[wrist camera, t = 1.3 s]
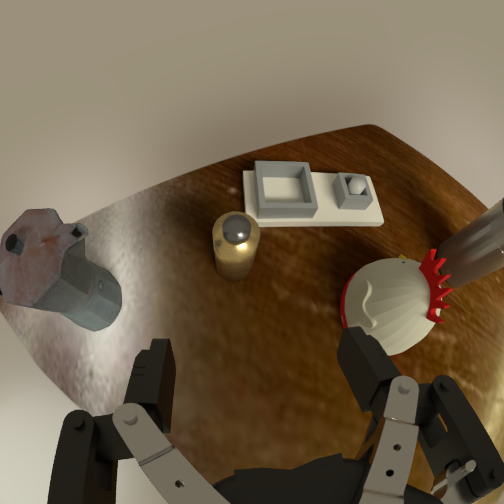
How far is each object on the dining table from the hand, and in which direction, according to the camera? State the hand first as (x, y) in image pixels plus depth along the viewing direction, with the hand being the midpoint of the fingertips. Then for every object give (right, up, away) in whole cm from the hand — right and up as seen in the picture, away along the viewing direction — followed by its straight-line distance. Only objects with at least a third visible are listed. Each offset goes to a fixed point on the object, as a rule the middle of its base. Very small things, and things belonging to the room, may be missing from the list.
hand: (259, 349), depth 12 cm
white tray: (+9, +12, +30) cm, 34 cm away
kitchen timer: (+19, -4, +25) cm, 31 cm away
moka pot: (-22, -3, +21) cm, 31 cm away
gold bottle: (-3, +3, +25) cm, 25 cm away
